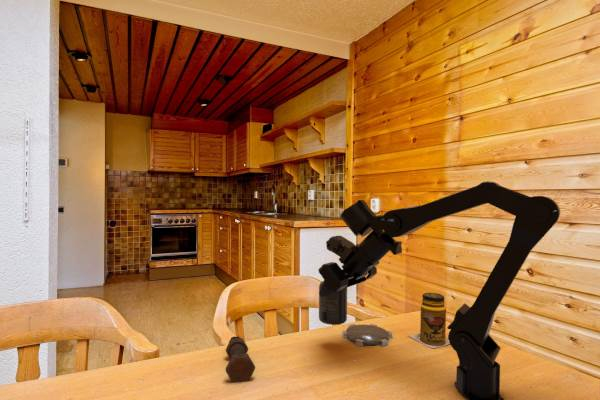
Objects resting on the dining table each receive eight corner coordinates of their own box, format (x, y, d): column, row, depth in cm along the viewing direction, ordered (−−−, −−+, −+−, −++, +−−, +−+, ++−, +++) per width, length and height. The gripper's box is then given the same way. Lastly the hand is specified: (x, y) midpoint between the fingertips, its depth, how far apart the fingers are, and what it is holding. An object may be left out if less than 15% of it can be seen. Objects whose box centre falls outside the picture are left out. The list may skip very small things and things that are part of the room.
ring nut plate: (384, 328, 100) (385, 323, 100) (398, 346, 88) (398, 341, 88) (339, 328, 100) (339, 323, 100) (346, 346, 88) (346, 341, 88)
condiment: (433, 349, 87) (434, 300, 87) (407, 336, 95) (408, 291, 94) (453, 343, 91) (454, 296, 90) (427, 332, 98) (428, 288, 98)
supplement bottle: (328, 313, 92) (328, 267, 92) (352, 319, 88) (352, 270, 88) (313, 321, 86) (313, 271, 86) (337, 327, 82) (338, 275, 82)
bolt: (238, 357, 85) (244, 389, 71) (219, 348, 84) (221, 378, 70) (251, 335, 86) (259, 361, 71) (232, 326, 85) (237, 351, 70)
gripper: (366, 222, 92) (329, 261, 99) (326, 227, 77) (286, 272, 84) (395, 256, 87) (354, 294, 94) (358, 268, 72) (313, 312, 79)
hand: (328, 292), depth 88 cm, fingers closed on supplement bottle, 7 cm apart
